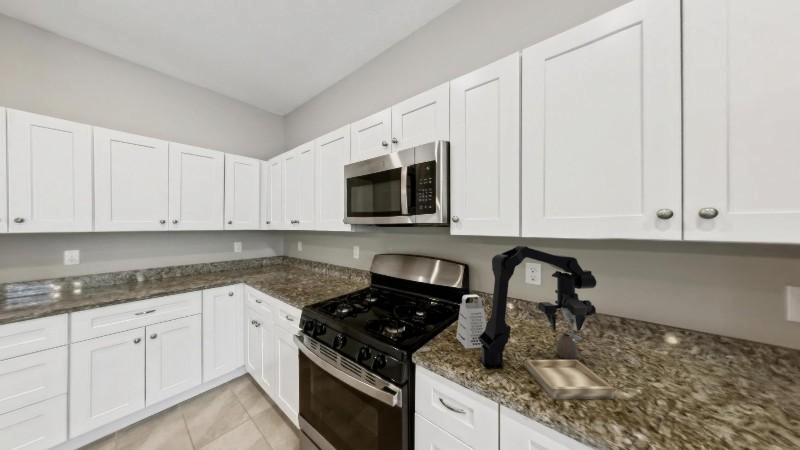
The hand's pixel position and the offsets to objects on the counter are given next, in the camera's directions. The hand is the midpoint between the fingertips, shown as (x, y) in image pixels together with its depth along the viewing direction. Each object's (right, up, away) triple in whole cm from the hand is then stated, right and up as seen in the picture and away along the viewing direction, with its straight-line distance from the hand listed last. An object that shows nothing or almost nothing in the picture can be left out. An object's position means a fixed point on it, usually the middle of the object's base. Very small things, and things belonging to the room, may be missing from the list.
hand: (566, 330), depth 97 cm
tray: (-10, -11, -15) cm, 21 cm away
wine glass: (+14, -11, +18) cm, 25 cm away
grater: (-32, -11, +14) cm, 36 cm away
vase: (0, -11, 0) cm, 11 cm away
